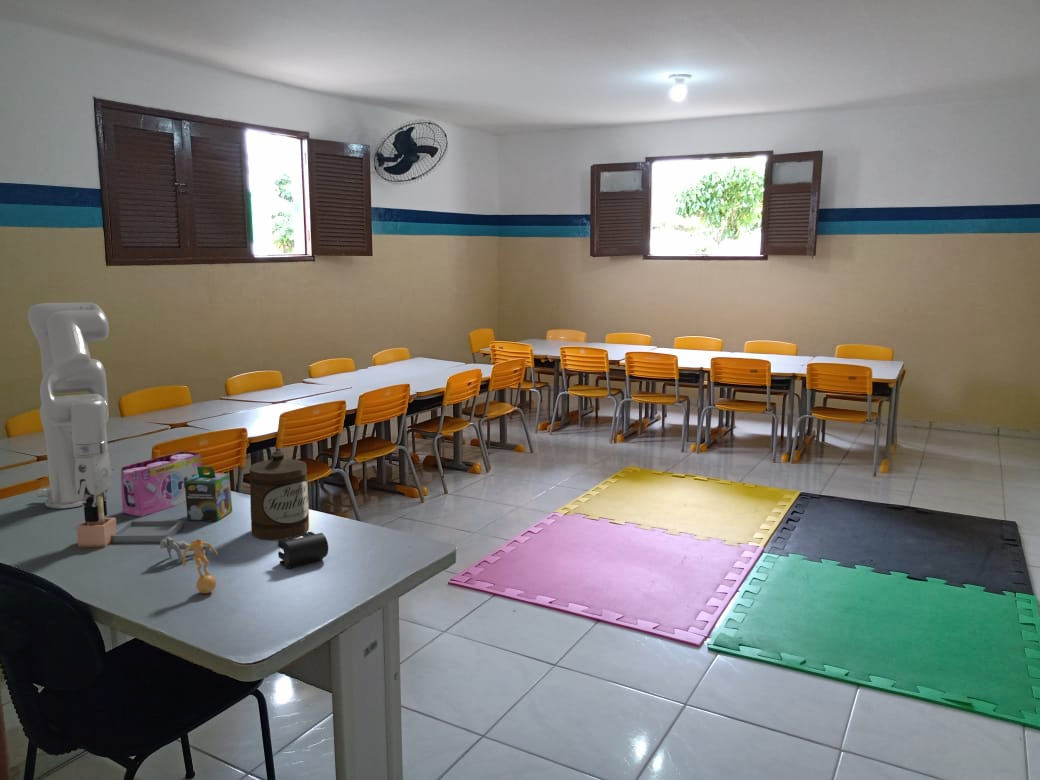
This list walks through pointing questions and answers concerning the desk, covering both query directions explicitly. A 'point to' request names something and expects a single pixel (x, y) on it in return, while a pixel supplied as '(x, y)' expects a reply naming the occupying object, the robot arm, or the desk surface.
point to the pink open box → (96, 533)
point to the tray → (147, 530)
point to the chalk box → (208, 495)
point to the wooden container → (279, 498)
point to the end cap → (302, 549)
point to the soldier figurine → (178, 547)
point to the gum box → (157, 482)
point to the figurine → (205, 581)
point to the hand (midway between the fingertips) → (96, 517)
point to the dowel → (99, 510)
